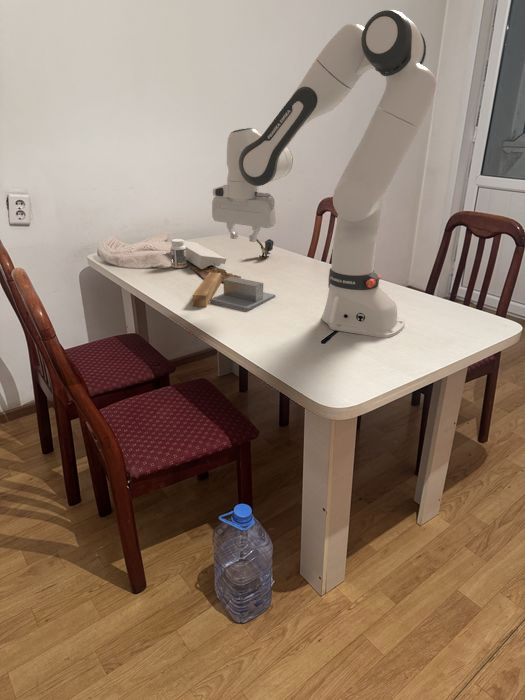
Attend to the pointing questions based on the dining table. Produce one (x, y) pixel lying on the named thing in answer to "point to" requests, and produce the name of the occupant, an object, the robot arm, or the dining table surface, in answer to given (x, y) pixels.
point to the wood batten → (206, 290)
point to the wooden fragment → (205, 272)
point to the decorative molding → (202, 255)
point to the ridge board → (240, 302)
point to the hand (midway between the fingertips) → (243, 239)
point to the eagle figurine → (266, 248)
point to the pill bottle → (178, 253)
